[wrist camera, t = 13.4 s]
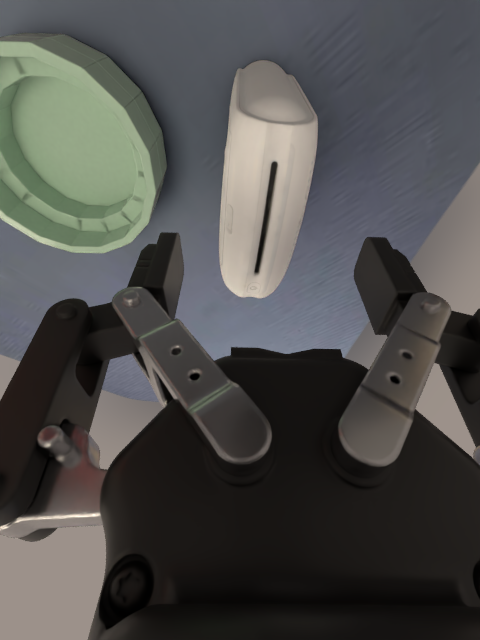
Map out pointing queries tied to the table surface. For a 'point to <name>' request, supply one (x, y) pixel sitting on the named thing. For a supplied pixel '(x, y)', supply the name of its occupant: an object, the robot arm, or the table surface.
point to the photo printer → (264, 177)
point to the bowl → (75, 145)
